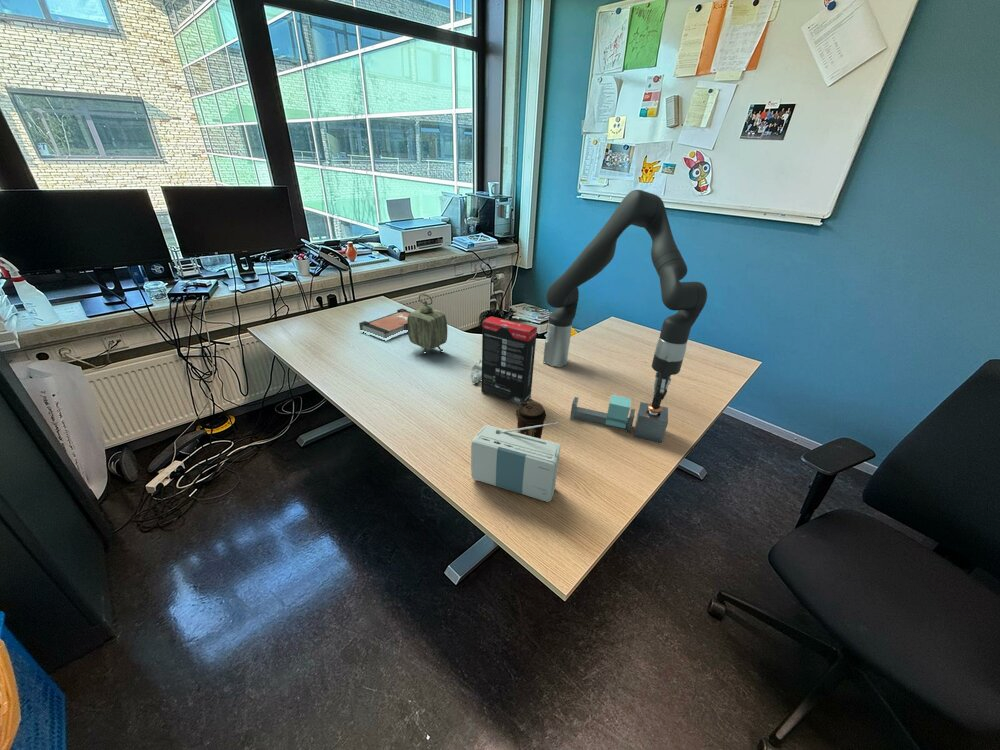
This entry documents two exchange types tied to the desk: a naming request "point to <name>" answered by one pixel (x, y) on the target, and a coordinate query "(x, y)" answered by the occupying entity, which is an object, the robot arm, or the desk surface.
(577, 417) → the rail
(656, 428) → the grey cube with hole
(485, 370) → the graphics card box
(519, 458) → the stereo radio cassette player
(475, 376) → the male figure
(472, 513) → the desk surface
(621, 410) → the carriage
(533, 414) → the coffee cup
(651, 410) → the plunger
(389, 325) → the book
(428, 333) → the tabletop clock
